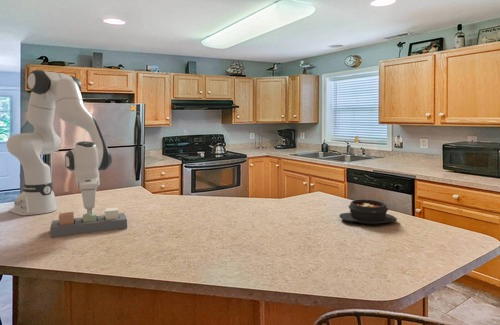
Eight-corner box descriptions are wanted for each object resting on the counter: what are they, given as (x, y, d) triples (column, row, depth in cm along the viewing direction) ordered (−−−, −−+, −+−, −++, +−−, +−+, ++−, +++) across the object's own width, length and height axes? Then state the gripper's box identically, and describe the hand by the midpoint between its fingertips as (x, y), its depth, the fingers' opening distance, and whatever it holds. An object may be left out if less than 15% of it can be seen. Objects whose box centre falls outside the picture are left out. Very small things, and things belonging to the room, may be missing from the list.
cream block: (106, 223, 145) (105, 211, 144) (105, 220, 149) (104, 208, 149) (118, 221, 147) (118, 210, 146) (117, 218, 151) (117, 207, 151)
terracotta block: (59, 228, 138) (58, 216, 137) (60, 225, 142) (59, 213, 141) (73, 226, 140) (73, 214, 139) (74, 223, 144) (73, 211, 144)
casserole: (345, 227, 148) (345, 208, 147) (334, 215, 166) (335, 198, 165) (403, 227, 148) (405, 208, 147) (387, 215, 166) (388, 198, 165)
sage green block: (83, 228, 141) (82, 216, 141) (83, 225, 146) (82, 213, 145) (97, 226, 144) (96, 215, 143) (96, 223, 148) (95, 212, 147)
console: (50, 238, 134) (50, 228, 133) (52, 229, 144) (52, 220, 143) (127, 228, 146) (126, 219, 145) (124, 221, 156) (124, 212, 155)
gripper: (79, 178, 150) (81, 209, 152) (79, 186, 132) (81, 221, 134) (95, 177, 153) (97, 207, 155) (97, 184, 135) (99, 219, 136)
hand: (89, 214), depth 144 cm, fingers closed, pressing on sage green block
